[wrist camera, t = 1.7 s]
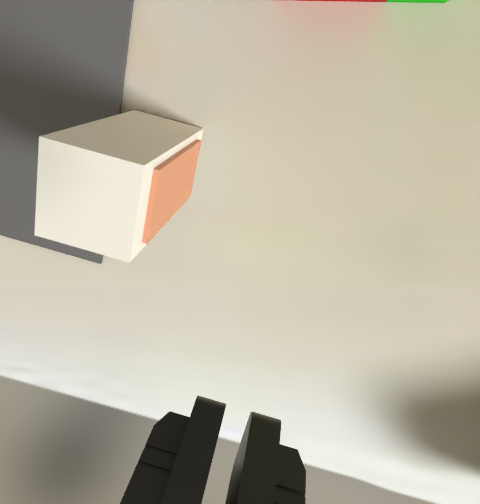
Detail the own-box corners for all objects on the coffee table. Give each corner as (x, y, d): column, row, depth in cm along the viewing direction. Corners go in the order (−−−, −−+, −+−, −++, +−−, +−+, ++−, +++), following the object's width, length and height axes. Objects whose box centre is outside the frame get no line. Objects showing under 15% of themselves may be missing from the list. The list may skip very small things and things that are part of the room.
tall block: (134, 109, 31) (38, 136, 20) (207, 129, 31) (150, 167, 20) (125, 177, 33) (34, 235, 22) (193, 196, 33) (135, 264, 22)
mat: (-44, -62, 29) (-47, -64, 28) (135, -16, 28) (133, -16, 28) (-37, 222, 37) (-39, 223, 37) (102, 262, 36) (100, 263, 36)
